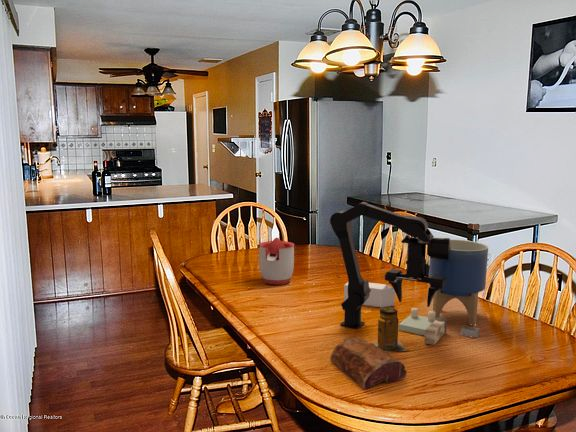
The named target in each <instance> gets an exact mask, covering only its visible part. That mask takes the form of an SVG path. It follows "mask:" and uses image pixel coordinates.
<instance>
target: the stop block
mask: <svg viewBox="0 0 576 432" xmlns="http://www.w3.org/2000/svg"><path fill="white" fill-rule="evenodd" d="M461 334H462V335H461ZM460 335H461V336H463V335H467V336H466V337H468V336H472V337H471V338H473V337H476V338H475V339H477V338H478V337H479V336H480V327H475V326H471V325H470V326H469V325H463V326H461V327H460ZM478 335H479V336H478Z"/></svg>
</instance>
